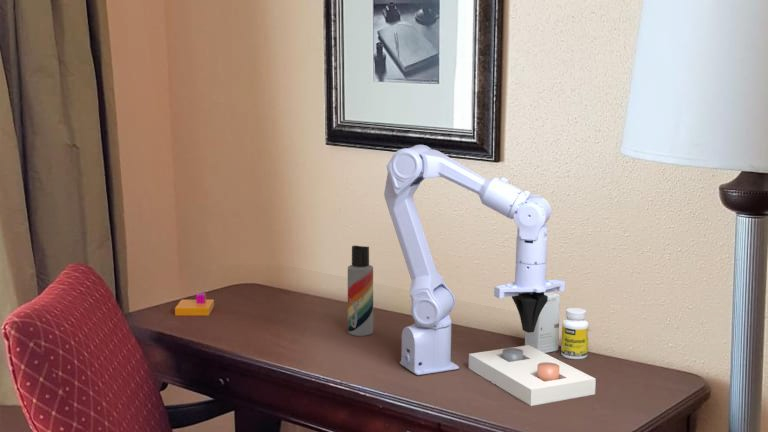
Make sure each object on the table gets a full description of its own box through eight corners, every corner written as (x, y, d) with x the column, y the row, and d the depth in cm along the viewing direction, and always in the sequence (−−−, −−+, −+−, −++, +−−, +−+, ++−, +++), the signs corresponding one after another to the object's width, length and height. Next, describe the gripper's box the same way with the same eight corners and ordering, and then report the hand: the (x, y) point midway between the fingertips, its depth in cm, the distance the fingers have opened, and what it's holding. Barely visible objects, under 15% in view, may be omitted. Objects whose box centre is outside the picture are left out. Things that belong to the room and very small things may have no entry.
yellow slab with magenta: (208, 317, 221) (208, 299, 221) (175, 317, 221) (174, 299, 220) (214, 308, 229) (213, 291, 228) (181, 308, 229) (181, 291, 228)
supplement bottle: (560, 358, 190) (562, 312, 189) (561, 350, 196) (563, 305, 194) (587, 361, 189) (589, 314, 188) (587, 352, 195) (589, 307, 193)
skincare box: (537, 355, 193) (539, 298, 191) (523, 349, 196) (525, 294, 194) (559, 350, 196) (561, 294, 194) (544, 345, 200) (546, 290, 198)
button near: (544, 391, 169) (545, 370, 169) (532, 384, 173) (533, 364, 172) (562, 388, 171) (563, 367, 170) (550, 381, 175) (551, 361, 174)
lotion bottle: (343, 334, 206) (343, 246, 203) (353, 327, 212) (353, 241, 208) (367, 337, 204) (367, 248, 201) (376, 330, 209) (377, 243, 206)
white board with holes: (530, 405, 165) (531, 389, 164) (468, 368, 184) (468, 353, 184) (595, 394, 170) (595, 378, 170) (528, 359, 190) (528, 345, 190)
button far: (509, 375, 180) (509, 355, 179) (498, 369, 184) (498, 349, 183) (526, 372, 182) (527, 352, 181) (515, 366, 185) (515, 347, 185)
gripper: (509, 268, 168) (506, 341, 170) (575, 262, 174) (572, 332, 176) (489, 261, 174) (487, 330, 177) (553, 255, 180) (551, 322, 183)
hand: (528, 330), depth 177 cm, fingers closed
